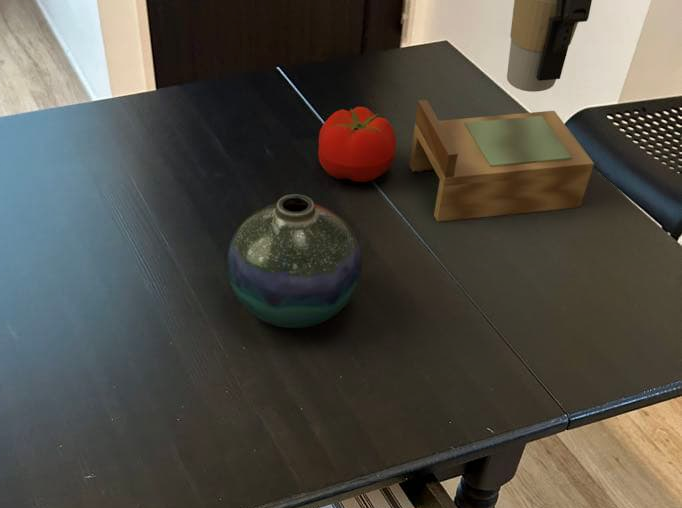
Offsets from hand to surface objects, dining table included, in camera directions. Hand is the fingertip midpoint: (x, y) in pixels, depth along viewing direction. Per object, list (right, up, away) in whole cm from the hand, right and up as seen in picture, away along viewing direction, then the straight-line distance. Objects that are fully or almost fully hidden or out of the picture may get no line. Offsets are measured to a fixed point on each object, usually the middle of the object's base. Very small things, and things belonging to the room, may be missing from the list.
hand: (535, 61), depth 101 cm
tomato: (-21, -7, +15) cm, 27 cm away
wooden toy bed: (-2, -10, +13) cm, 16 cm away
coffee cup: (0, -1, +2) cm, 2 cm away
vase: (-30, -31, -3) cm, 43 cm away
